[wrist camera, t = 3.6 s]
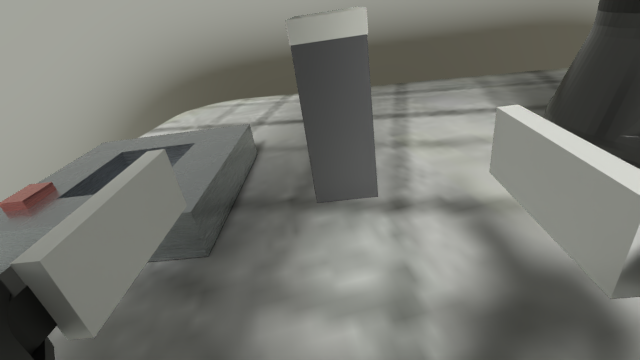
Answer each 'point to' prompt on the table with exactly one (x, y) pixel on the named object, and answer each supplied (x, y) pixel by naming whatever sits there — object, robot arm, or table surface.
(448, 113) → the table surface
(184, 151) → the socket block
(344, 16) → the plug
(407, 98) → the table surface
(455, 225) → the table surface
